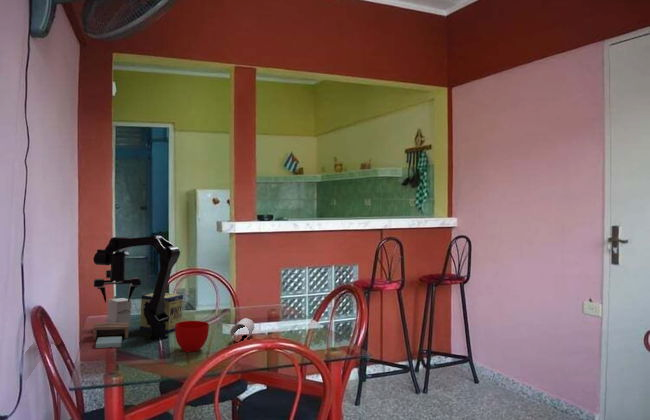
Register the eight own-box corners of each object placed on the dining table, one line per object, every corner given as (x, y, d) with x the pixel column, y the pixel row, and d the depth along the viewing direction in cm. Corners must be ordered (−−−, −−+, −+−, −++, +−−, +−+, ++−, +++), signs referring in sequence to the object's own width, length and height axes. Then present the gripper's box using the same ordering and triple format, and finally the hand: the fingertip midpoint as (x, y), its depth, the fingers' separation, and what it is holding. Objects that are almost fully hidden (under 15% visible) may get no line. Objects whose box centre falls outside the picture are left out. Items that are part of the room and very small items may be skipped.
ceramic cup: (188, 341, 216) (189, 317, 216) (214, 350, 206) (215, 324, 206) (161, 347, 206) (162, 322, 206) (187, 356, 196) (188, 329, 196)
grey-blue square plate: (120, 348, 204) (120, 342, 204) (95, 349, 202) (95, 343, 202) (121, 341, 214) (121, 336, 214) (97, 342, 211) (98, 337, 211)
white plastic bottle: (257, 333, 236) (258, 315, 236) (248, 343, 217) (249, 324, 217) (240, 332, 237) (240, 314, 237) (229, 342, 218) (230, 323, 218)
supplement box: (115, 329, 231) (116, 301, 231) (106, 327, 236) (107, 299, 236) (130, 327, 237) (131, 299, 237) (121, 324, 242) (122, 297, 242)
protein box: (168, 333, 229) (170, 298, 229) (139, 329, 234) (140, 294, 234) (182, 328, 239) (183, 294, 239) (154, 324, 244) (155, 291, 244)
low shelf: (127, 338, 217) (128, 326, 217) (92, 339, 213) (93, 327, 213) (128, 333, 225) (129, 322, 225) (94, 335, 221) (95, 323, 221)
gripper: (138, 263, 237) (137, 297, 237) (93, 264, 229) (92, 300, 229) (141, 266, 227) (140, 302, 227) (94, 267, 218) (93, 304, 218)
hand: (117, 302), depth 225 cm, fingers open, 9 cm apart
